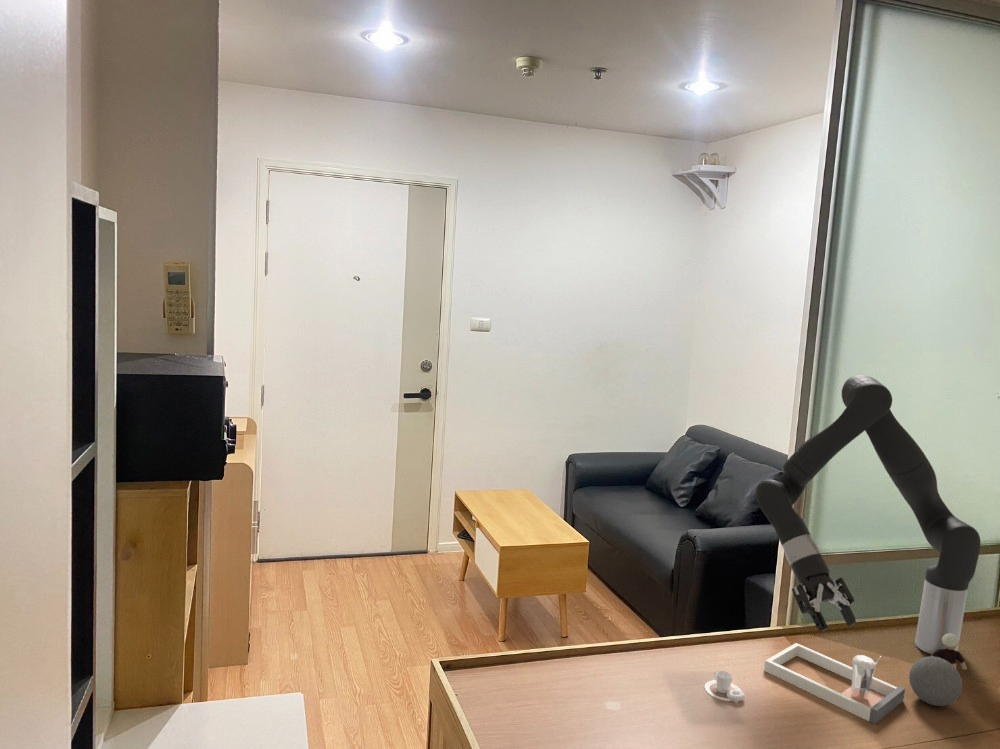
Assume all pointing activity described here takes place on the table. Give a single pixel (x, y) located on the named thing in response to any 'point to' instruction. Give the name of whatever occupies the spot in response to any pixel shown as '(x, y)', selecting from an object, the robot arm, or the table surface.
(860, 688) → the milkshake
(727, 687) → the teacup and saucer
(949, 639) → the grandmother figurine
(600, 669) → the table surface
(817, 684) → the tray
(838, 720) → the table surface
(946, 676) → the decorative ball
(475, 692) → the table surface
